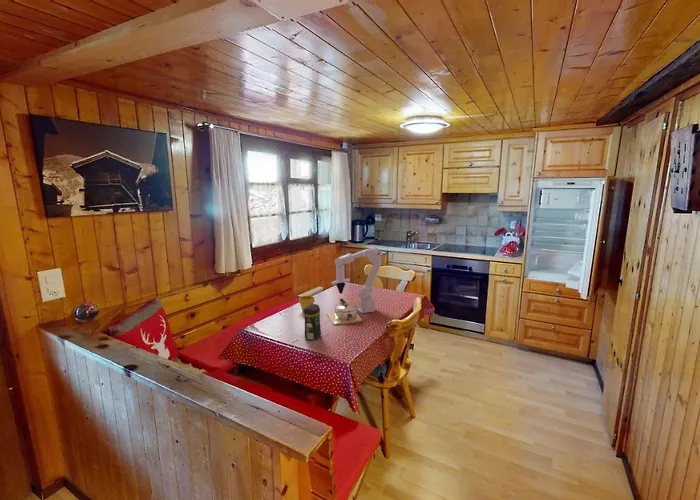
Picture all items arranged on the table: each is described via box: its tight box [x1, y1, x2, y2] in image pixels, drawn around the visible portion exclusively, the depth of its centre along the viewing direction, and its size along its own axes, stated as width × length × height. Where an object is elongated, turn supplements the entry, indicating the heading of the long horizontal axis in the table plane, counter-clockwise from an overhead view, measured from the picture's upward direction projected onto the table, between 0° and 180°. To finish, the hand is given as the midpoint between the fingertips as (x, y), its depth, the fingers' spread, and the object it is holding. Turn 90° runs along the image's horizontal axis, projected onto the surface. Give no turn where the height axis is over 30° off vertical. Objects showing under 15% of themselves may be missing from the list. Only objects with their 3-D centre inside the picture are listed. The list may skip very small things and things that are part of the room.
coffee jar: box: [303, 303, 322, 341], centre depth 183 cm, size 10×8×19 cm
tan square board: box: [326, 308, 363, 326], centre depth 213 cm, size 19×22×6 cm
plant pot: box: [298, 294, 315, 314], centre depth 224 cm, size 10×10×10 cm
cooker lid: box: [333, 298, 358, 312], centre depth 213 cm, size 18×15×3 cm
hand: (340, 293), depth 230 cm, fingers closed
